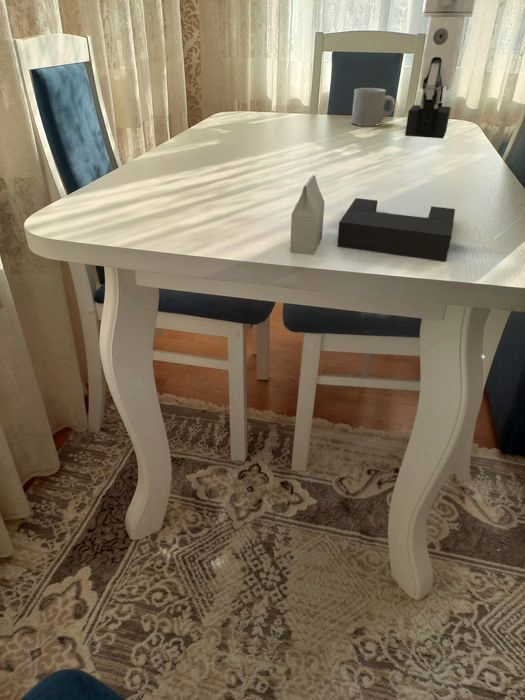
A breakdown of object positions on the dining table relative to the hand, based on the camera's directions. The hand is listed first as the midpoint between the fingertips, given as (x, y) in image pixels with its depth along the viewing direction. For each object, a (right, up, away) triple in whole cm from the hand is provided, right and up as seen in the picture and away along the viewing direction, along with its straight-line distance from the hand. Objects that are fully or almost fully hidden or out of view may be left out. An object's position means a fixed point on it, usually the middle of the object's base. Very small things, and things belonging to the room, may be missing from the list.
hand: (426, 129), depth 86 cm
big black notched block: (-7, -20, -6) cm, 22 cm away
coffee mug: (+7, +36, +77) cm, 86 cm away
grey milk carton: (-22, -22, -8) cm, 32 cm away
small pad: (0, -1, 0) cm, 1 cm away
